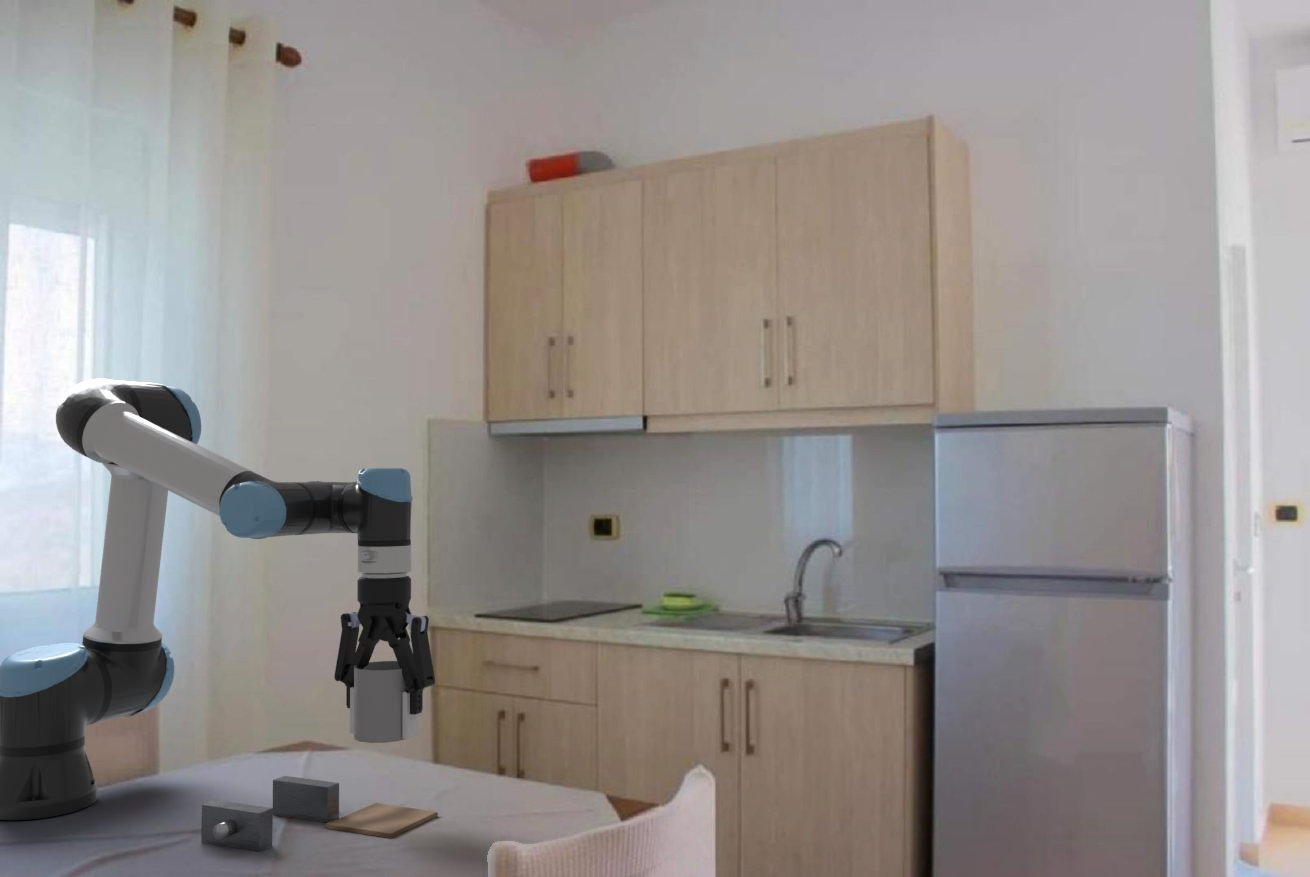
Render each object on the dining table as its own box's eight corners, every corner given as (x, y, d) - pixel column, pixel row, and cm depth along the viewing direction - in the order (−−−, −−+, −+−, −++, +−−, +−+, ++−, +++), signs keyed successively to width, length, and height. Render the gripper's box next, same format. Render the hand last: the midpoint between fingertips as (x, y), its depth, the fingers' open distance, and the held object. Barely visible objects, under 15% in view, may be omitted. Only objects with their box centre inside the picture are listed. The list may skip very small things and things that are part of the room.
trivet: (326, 828, 158) (326, 824, 158) (375, 807, 168) (375, 803, 168) (390, 838, 153) (390, 833, 153) (437, 815, 164) (437, 811, 164)
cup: (398, 744, 156) (398, 671, 156) (343, 741, 158) (343, 669, 158) (422, 730, 164) (422, 661, 165) (370, 728, 166) (370, 660, 166)
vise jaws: (189, 846, 150) (190, 808, 150) (294, 806, 168) (294, 772, 169) (247, 856, 146) (247, 817, 146) (347, 814, 164) (348, 779, 165)
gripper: (308, 575, 163) (307, 733, 162) (431, 579, 154) (430, 746, 153) (342, 571, 170) (341, 722, 169) (461, 575, 161) (461, 735, 160)
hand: (383, 734), depth 161 cm, fingers closed on cup, 8 cm apart
